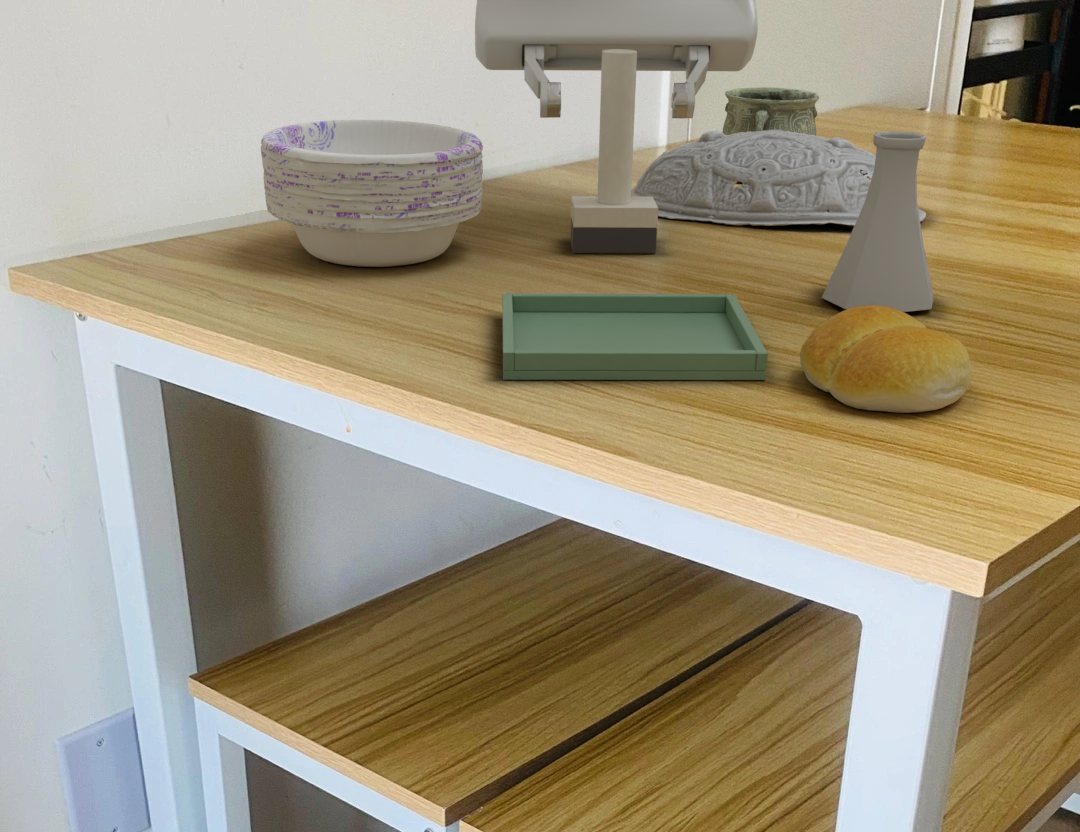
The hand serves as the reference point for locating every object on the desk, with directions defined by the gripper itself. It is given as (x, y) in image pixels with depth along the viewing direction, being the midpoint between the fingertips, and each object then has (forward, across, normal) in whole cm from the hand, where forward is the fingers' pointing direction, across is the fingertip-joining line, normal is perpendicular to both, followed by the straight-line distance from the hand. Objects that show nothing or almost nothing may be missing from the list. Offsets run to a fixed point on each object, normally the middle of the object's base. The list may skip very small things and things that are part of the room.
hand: (617, 112), depth 97 cm
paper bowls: (+9, -17, +4) cm, 20 cm away
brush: (+7, 0, +5) cm, 9 cm away
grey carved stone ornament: (-2, +14, +15) cm, 21 cm away
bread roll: (+30, +12, -18) cm, 37 cm away
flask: (+18, +16, -5) cm, 25 cm away
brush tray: (+25, -1, -12) cm, 28 cm away
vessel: (-17, +17, +29) cm, 38 cm away
